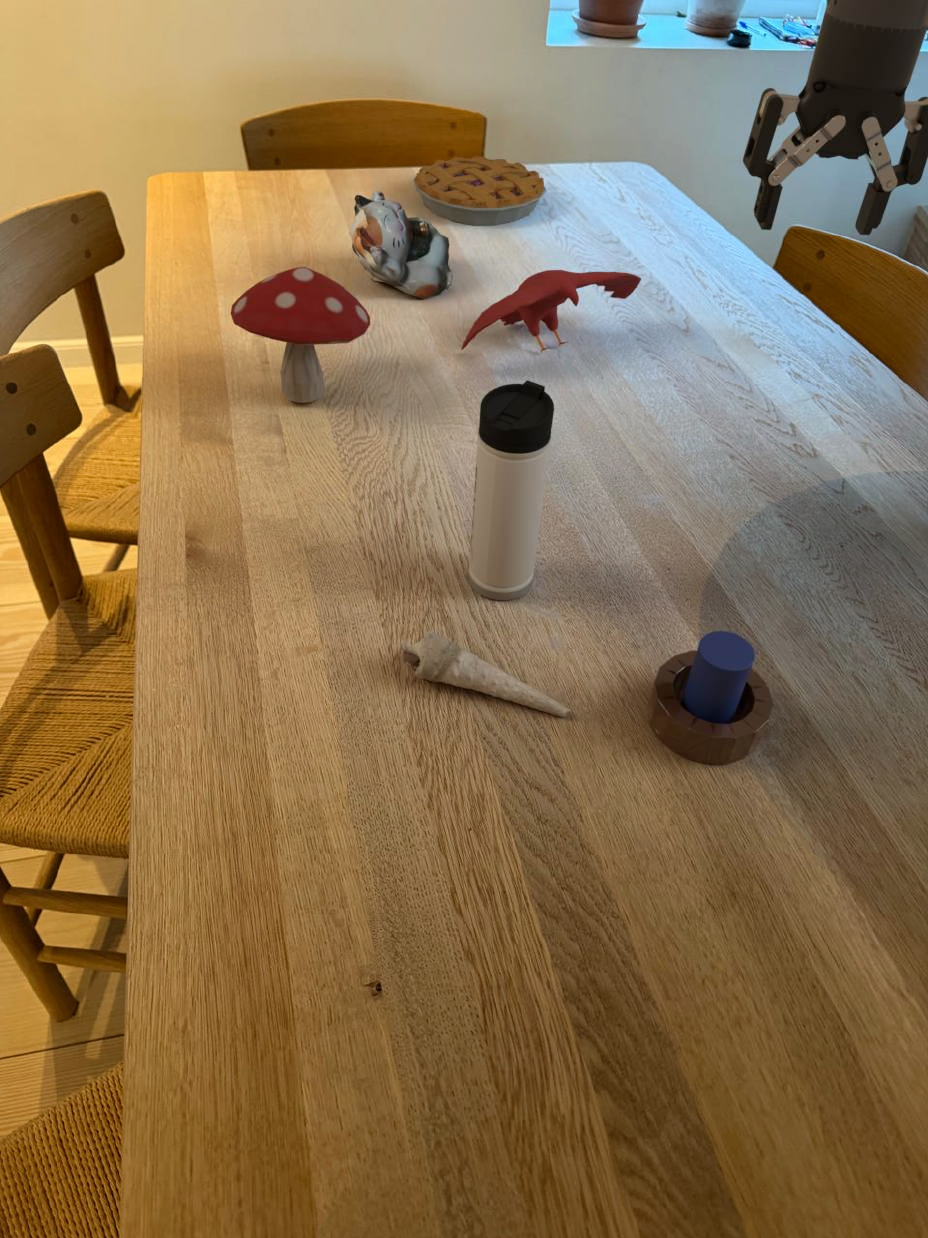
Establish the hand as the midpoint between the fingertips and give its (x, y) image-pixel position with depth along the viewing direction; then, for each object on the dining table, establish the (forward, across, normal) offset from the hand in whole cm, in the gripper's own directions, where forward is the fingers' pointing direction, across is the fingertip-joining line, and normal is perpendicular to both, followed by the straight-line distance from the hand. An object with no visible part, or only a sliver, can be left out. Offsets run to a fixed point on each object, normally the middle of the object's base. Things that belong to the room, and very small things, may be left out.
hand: (813, 229), depth 82 cm
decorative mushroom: (+30, -48, +20) cm, 60 cm away
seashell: (+30, -27, -27) cm, 49 cm away
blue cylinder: (+30, -8, -30) cm, 43 cm away
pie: (+30, -27, +83) cm, 92 cm away
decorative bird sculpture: (+30, -19, +35) cm, 50 cm away
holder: (+30, -8, -30) cm, 43 cm away
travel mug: (+30, -25, -13) cm, 41 cm away
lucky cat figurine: (+30, -38, +51) cm, 70 cm away
